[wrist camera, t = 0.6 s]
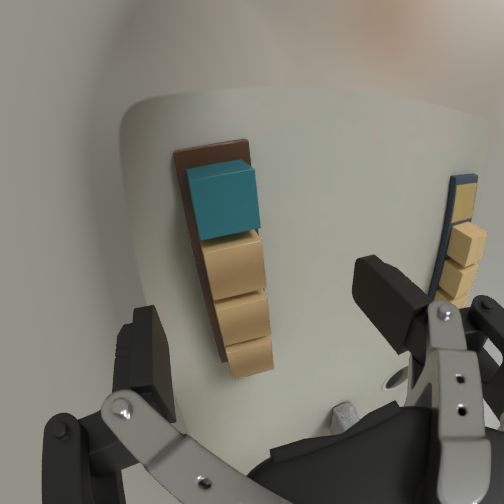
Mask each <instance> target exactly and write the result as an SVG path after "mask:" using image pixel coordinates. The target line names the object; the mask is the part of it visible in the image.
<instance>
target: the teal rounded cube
mask: <svg viewBox="0 0 504 504" xmlns="http://www.w3.org/2000/svg"><path fill="white" fill-rule="evenodd" d="M186 172H187V177H188V183H189V188H190V194H191V199H192V204H193V210H194V215H195V220H196V224H197V229H198V233H199V237H200V240H201V241H202V240H207V239H211V238H216V237H220V236H225V235H230V234H234V233H239V232H244V231H249V230H253V229H258V228H260V217H259V207H258V198H257V188H256V179H255V169H254V168H252V167H251V166H250V165H248V164H247V163H246V162H244V161H243V160H242V159H240V160H233V161H228V162H222V163H216V164H211V165H205V166H200V167H195V168H190V169H186Z"/></svg>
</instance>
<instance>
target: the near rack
mask: <svg viewBox="0 0 504 504" xmlns="http://www.w3.org/2000/svg"><path fill="white" fill-rule="evenodd" d="M174 159H175V164H176V170H177V175H178V181H179V186H180V191H181V196H182V201H183V206H184V211H185V216H186V220H187V225H188V230H189V234H190V239H191V243H192V248H193V252H194V257H195V261H196V265H197V270H198V274H199V278H200V282H201V286H202V290H203V294H204V298H205V302H206V306H207V310H208V314H209V318H210V322H211V325H212V329H213V333H214V336H215V340H216V344H217V347H218V351H219V355H220V358H221V362H222V363H224V362H228V363H229V366H230V370H231V373H232V377H233V379H238V378H242V377H246V376H250V375H254V374H257V373H261V372H265V371H268V370H272V369H274V364H273V353H272V342H271V339H270V337H269V335H270V334H271V331H270V320H269V309H268V299H267V296H266V294H265V292H264V289H265V288H266V278H265V268H264V258H263V248H262V240H261V239H260V237H259V234H258V229H253V230H249V231H244V232H239V233H234V234H230V235H225V236H220V237H216V238H211V239H207V240H202V241H201V240H200V237H199V233H198V229H197V224H196V220H195V215H194V210H193V204H192V199H191V194H190V188H189V183H188V177H187V172H186V169H190V168H195V167H200V166H205V165H211V164H216V163H222V162H228V161H233V160H240V159H242V160H243V161H244V162H246V163H247V164H248V165H250V166H251V160H250V151H249V142H248V140H247V139H240V140H233V141H227V142H221V143H215V144H209V145H203V146H198V147H193V148H187V149H182V150H177V151H174Z"/></svg>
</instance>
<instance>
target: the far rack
mask: <svg viewBox="0 0 504 504" xmlns="http://www.w3.org/2000/svg"><path fill="white" fill-rule="evenodd" d="M477 181H478V175H476V174H465V175H455V176H451V181H450V190H449V198H448V205H447V211H446V218H445V223H444V229H443V234H442V240H441V244H440V249H439V254H438V258H437V263H436V267H435V271H434V275H433V279H432V282H431V286H430V290H429V293H428V296H429V297H430V298H431V299H432V300H433V301H437V300H443V301H447V302H450V303H452V304H453V305H455V306H456V307H457V308H458V309H460V308H465V305H466V303H467V300H468V297H469V295H468V294H467V292H469V291H470V290H471V289H472V286H473V283H474V280H475V277H476V274H477V270H478V265H477V264H475V262H477V261H479V260H481V257H482V253H483V250H484V245H485V242H486V238H487V234H488V233H487V232H486V231H484V230H482V229H481V228H479V227H477V226H476V225H474V224H472V223H471V219H472V213H473V208H474V202H475V196H476V189H477Z"/></svg>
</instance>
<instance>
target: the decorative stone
mask: <svg viewBox="0 0 504 504" xmlns="http://www.w3.org/2000/svg"><path fill="white" fill-rule="evenodd" d="M359 420H360V418H359V416H358V414H357V411H356V409H355V407H354V406H353V405H352V404H351V403H350V402H348V403H343V404H341V405H338V406H337V407H335V408H333V415H332V421H331V425H330V427H329V430H330V432H331V435H337V434H341V433H343V432H345V431H346V430H347V429H349V428H350V427H351V426H353V425H354V424H355V423H357V422H358V421H359Z"/></svg>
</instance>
